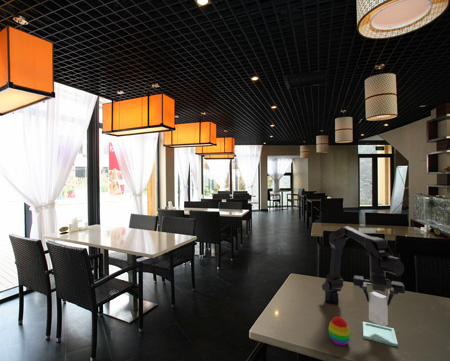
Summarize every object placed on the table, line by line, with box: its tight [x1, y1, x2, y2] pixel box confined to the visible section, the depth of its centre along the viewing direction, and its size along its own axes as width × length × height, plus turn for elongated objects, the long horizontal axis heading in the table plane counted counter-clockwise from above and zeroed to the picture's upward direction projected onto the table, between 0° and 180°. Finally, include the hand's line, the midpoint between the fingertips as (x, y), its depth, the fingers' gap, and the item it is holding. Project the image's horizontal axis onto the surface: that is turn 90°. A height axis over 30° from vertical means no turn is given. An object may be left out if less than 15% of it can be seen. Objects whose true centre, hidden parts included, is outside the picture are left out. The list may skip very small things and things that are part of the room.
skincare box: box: [368, 291, 389, 327], centre depth 108 cm, size 6×4×12 cm
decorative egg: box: [328, 316, 351, 346], centre depth 103 cm, size 8×8×10 cm
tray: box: [362, 321, 399, 348], centre depth 108 cm, size 12×12×1 cm
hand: (378, 303), depth 108 cm, fingers closed on skincare box, 7 cm apart
